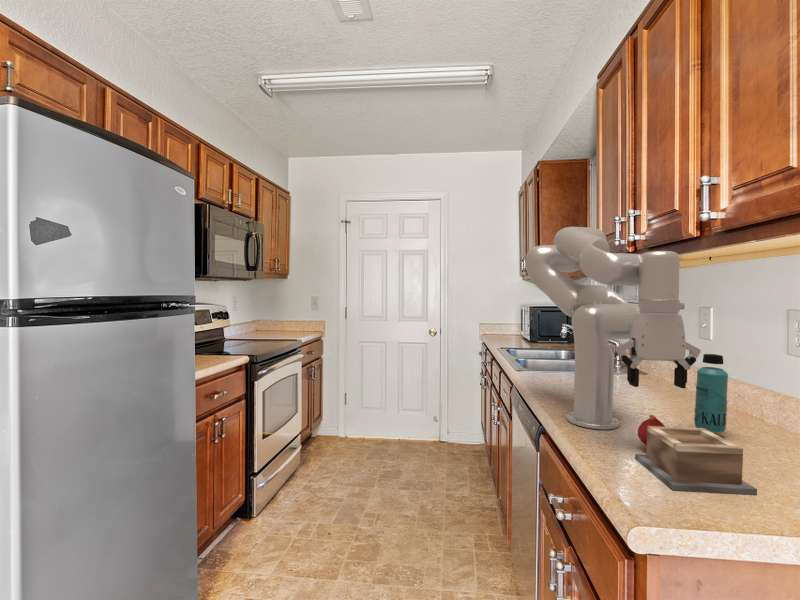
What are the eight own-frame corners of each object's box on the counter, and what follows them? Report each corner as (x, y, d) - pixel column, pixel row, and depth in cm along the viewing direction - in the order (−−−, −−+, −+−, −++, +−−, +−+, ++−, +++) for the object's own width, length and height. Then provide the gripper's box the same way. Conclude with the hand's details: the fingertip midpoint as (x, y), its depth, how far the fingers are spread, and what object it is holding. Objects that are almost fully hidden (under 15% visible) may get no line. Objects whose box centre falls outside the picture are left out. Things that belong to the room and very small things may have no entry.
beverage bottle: (702, 428, 109) (705, 351, 108) (732, 437, 103) (735, 355, 102) (687, 432, 106) (690, 353, 105) (717, 440, 100) (720, 357, 99)
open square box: (635, 458, 88) (636, 423, 88) (705, 461, 87) (706, 426, 87) (672, 490, 74) (674, 448, 74) (756, 494, 73) (758, 452, 73)
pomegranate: (657, 446, 96) (658, 411, 96) (674, 456, 90) (675, 419, 90) (632, 445, 96) (633, 411, 95) (647, 456, 90) (649, 419, 90)
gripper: (689, 308, 95) (687, 384, 95) (609, 307, 96) (608, 381, 96) (711, 309, 87) (709, 391, 88) (624, 308, 89) (623, 389, 89)
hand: (656, 386), depth 92 cm, fingers open, 9 cm apart
